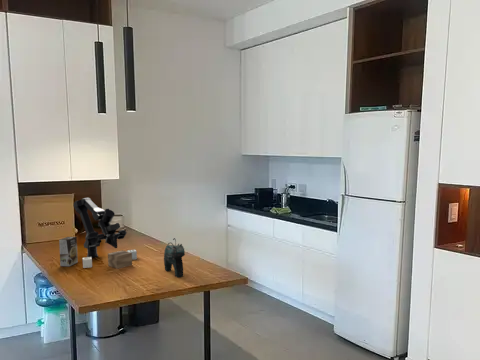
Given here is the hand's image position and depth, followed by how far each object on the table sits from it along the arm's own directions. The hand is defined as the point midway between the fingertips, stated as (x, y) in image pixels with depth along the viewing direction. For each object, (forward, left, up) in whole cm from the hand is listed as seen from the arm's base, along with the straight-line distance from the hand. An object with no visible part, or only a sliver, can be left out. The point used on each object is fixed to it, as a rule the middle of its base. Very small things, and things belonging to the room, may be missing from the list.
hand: (116, 247), depth 263 cm
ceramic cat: (+34, +26, -10) cm, 44 cm away
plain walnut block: (+3, +1, -10) cm, 11 cm away
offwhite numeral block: (-3, -17, -10) cm, 20 cm away
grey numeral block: (-10, +9, -10) cm, 17 cm away
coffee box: (-13, -27, -10) cm, 32 cm away
